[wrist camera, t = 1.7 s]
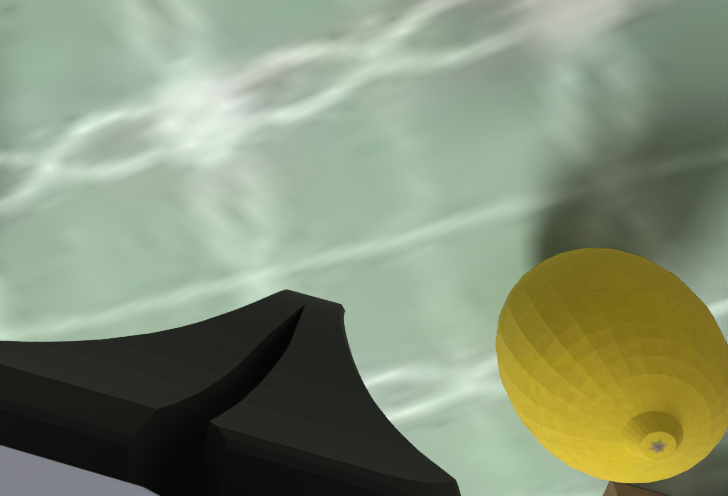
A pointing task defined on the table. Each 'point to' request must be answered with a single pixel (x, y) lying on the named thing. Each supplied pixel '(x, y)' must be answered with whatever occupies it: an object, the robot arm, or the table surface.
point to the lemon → (614, 365)
